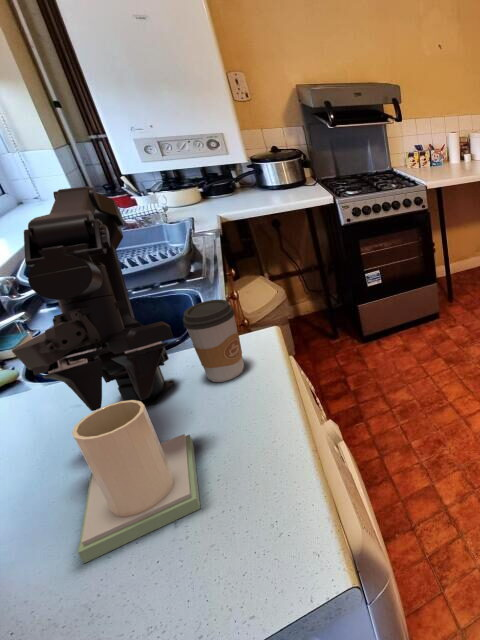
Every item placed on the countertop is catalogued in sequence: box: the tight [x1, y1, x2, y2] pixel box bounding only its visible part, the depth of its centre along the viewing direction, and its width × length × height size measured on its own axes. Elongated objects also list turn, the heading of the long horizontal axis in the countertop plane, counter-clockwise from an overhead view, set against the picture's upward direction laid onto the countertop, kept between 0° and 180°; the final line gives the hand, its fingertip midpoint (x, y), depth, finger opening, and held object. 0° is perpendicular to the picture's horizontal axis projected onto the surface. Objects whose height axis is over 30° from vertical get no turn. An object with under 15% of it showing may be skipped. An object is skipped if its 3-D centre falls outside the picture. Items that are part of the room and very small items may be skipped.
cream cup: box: [71, 400, 174, 517], centre depth 57 cm, size 7×7×13 cm
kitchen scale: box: [77, 433, 201, 564], centre depth 62 cm, size 15×12×3 cm
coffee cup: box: [182, 299, 245, 383], centre depth 86 cm, size 8×8×15 cm
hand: (120, 404), depth 63 cm, fingers open, 9 cm apart
